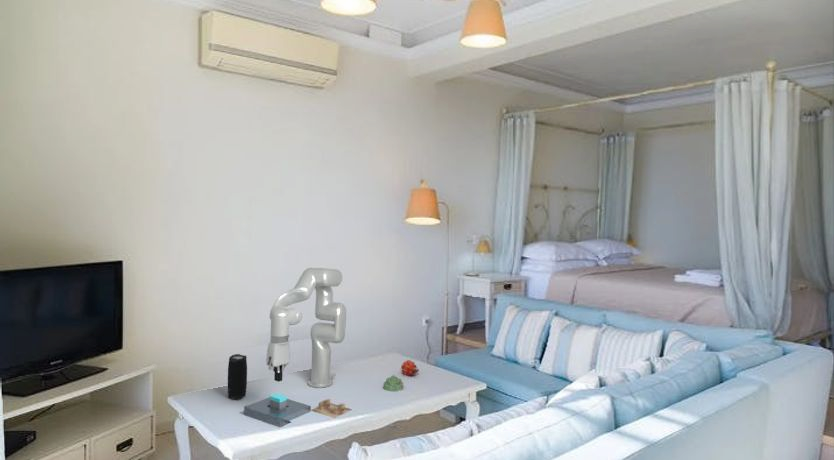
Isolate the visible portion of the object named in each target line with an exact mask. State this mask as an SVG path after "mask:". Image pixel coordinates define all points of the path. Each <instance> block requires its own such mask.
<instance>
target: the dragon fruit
mask: <svg viewBox="0 0 834 460" xmlns="http://www.w3.org/2000/svg"><path fill="white" fill-rule="evenodd" d="M400 369H401V373H402V374H403V375H406V377H409V376H410V375H411V376H410V377H409V378H411V377H412V375H413V376H416V373H419V370H420V369H418V367H417V365H416V363H415V362H414V361H412V360H410V359H408V360H405V361H404V362H403V363H402V364H401V368H400Z"/></svg>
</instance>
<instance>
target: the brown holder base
mask: <svg viewBox="0 0 834 460" xmlns="http://www.w3.org/2000/svg"><path fill="white" fill-rule="evenodd" d="M352 410H353V409H352V408H348V407H346V403H343V402H342V403H339V404H335V403H332V402H331V399H329V398H327V399H325V400H322V401H320V402H318V407H315V408H313V409H311V412H314V413H317V414H321V415H324V416H327V417H331V418H333V419H335V418H338V417H339V416H343V415H345V414H346V413H348V412H351V411H352Z"/></svg>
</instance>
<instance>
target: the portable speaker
mask: <svg viewBox="0 0 834 460" xmlns="http://www.w3.org/2000/svg"><path fill="white" fill-rule="evenodd" d="M247 358H248V357H247V355H242V354H241V353H236V354H232V355H230V356H229V358H228V366H227V395H228V398H229V399H230V398H231V399H232V400H233V401H239V400H243V398H244V397H246V394H247V383H248V363H247V361H248V360H247Z"/></svg>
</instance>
